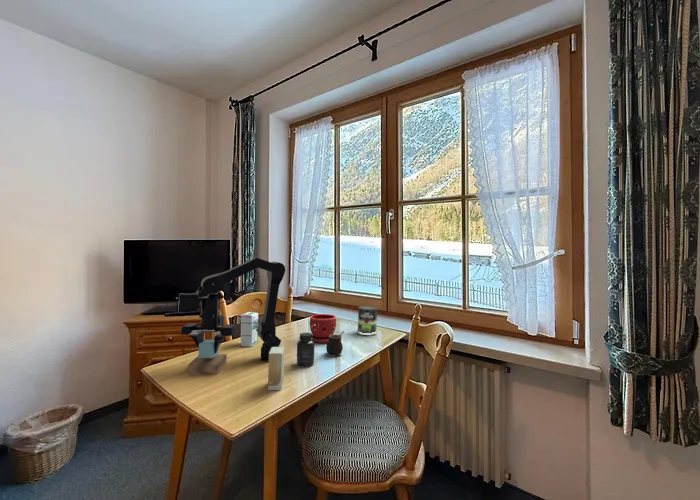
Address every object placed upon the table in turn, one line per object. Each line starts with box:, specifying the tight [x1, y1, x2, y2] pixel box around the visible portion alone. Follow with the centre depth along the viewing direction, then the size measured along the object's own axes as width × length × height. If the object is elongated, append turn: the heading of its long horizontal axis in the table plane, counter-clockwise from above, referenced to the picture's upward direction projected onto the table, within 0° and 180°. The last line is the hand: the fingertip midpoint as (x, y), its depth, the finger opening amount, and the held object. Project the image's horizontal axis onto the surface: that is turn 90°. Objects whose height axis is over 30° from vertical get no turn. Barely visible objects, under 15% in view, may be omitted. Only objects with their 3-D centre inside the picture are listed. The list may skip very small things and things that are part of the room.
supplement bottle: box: [296, 332, 315, 368], centre depth 120 cm, size 7×7×12 cm
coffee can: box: [357, 305, 378, 333], centre depth 165 cm, size 10×10×14 cm
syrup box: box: [240, 311, 259, 348], centre depth 141 cm, size 6×6×14 cm
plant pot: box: [309, 313, 337, 344], centre depth 151 cm, size 13×13×12 cm
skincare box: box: [267, 346, 285, 391], centre depth 101 cm, size 6×4×12 cm
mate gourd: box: [325, 330, 345, 357], centre depth 132 cm, size 7×8×10 cm
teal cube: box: [198, 339, 219, 358], centre depth 113 cm, size 5×5×5 cm
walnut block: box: [187, 353, 228, 376], centre depth 113 cm, size 10×10×4 cm
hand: (208, 352), depth 113 cm, fingers closed on teal cube, 5 cm apart
